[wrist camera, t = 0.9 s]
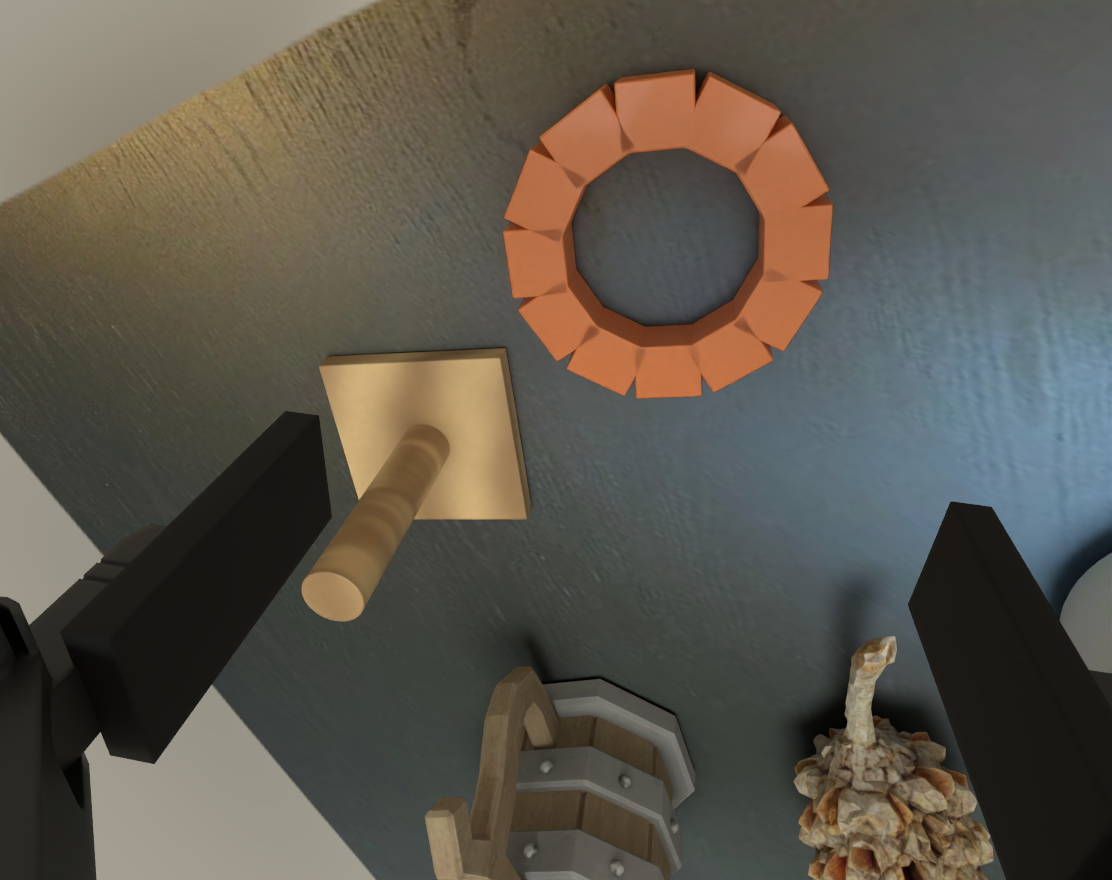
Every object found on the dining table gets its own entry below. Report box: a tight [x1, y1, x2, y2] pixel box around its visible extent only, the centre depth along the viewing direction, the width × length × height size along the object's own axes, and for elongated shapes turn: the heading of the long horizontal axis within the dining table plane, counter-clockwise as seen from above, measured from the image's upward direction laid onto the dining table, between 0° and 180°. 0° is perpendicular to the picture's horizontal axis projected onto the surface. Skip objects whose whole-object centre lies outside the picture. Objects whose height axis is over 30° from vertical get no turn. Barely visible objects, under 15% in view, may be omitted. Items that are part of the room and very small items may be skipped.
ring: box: [503, 69, 833, 398], centre depth 29 cm, size 12×12×2 cm
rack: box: [302, 348, 531, 621], centre depth 32 cm, size 9×9×12 cm
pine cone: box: [794, 636, 993, 880], centre depth 38 cm, size 22×10×10 cm, turn 21°
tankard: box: [425, 666, 695, 880], centre depth 39 cm, size 20×13×15 cm, turn 18°
